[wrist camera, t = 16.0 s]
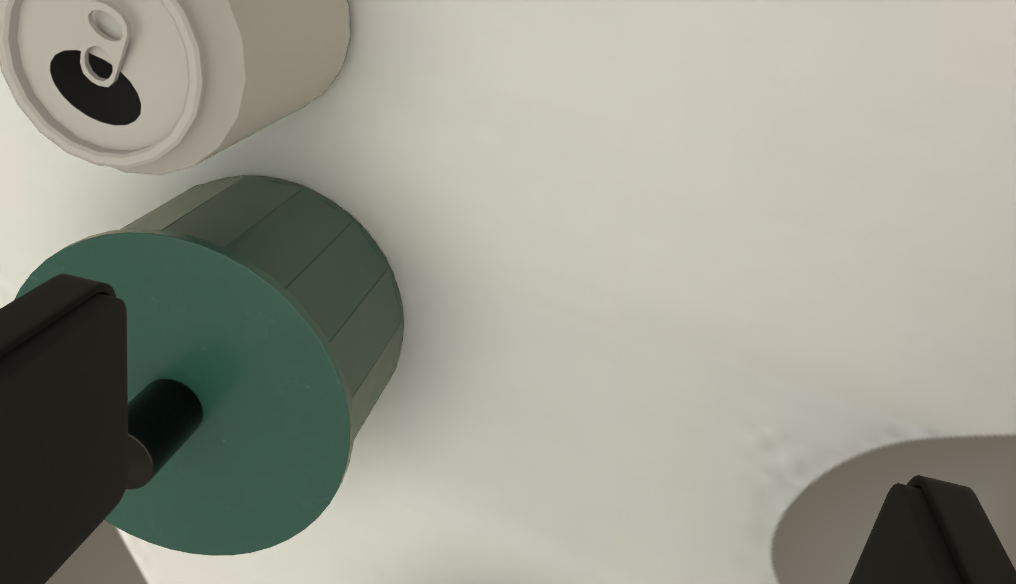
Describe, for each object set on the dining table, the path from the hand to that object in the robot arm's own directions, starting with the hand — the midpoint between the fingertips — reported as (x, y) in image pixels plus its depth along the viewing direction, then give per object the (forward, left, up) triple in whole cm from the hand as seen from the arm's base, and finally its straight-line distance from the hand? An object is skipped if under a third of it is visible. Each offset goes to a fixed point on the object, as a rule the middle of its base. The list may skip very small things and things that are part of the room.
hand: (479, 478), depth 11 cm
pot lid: (+13, +13, -18) cm, 26 cm away
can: (+14, 0, -26) cm, 30 cm away
